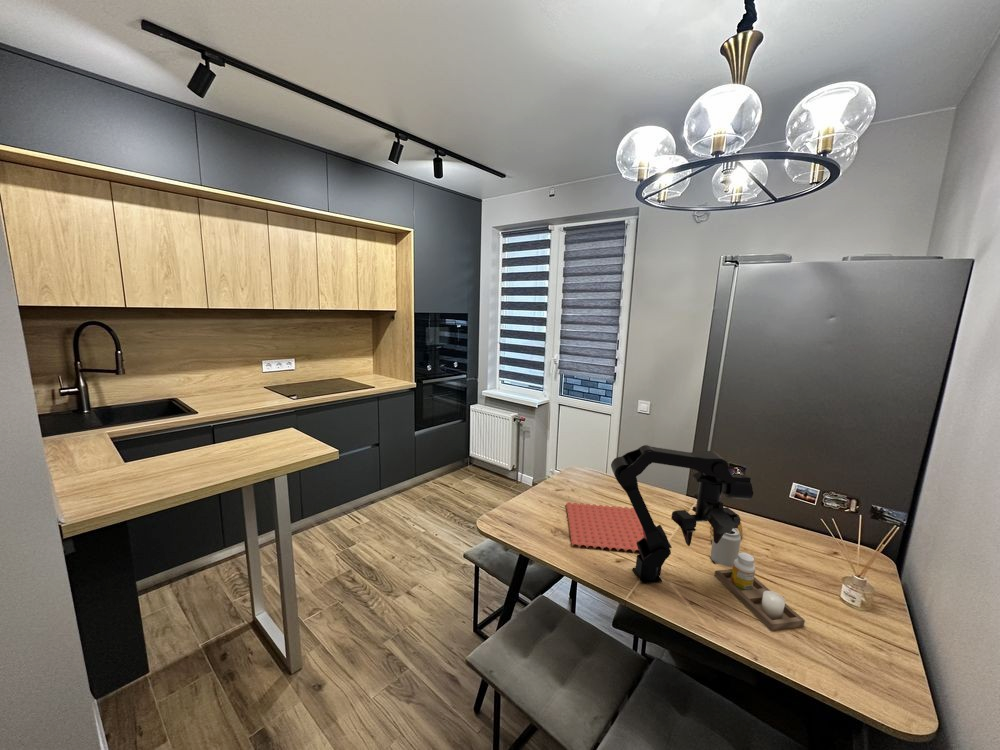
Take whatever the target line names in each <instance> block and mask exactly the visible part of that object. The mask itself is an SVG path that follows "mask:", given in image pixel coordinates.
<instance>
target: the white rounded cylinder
mask: <svg viewBox="0 0 1000 750" xmlns="http://www.w3.org/2000/svg"><path fill="white" fill-rule="evenodd" d="M785 604H786V599H785V598H784V596H782V595H781V594H779V593H777V592H775V591H773V590H770V591H764V592H763V598H762V603H761V609H760V610H761V611H762V612H764V613H765V614H766V615H767V616H768V617H769V618H770V619H772V620H777V619H782V616H783V611H784V606H785Z"/></svg>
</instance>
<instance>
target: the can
mask: <svg viewBox="0 0 1000 750" xmlns="http://www.w3.org/2000/svg"><path fill="white" fill-rule="evenodd" d="M741 541H742V535H741V536H740V534H739V531H738V530H737V529H736V528H733V529H732V531H731V533H724V535H723V536H722V538H721V539H720V541H719V542H718V543H717V544H716V543H715V542H714V538H713V542H712V541H711V542H712V543H711V550H710V555H709V556H710V558H711V560H712V561H713V562H714V563H715V564H716V565H722V566H725V567H733V564H734V560H735V559H737V558H738V553H740V547H741Z"/></svg>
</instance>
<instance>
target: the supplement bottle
mask: <svg viewBox="0 0 1000 750" xmlns="http://www.w3.org/2000/svg"><path fill="white" fill-rule="evenodd" d="M754 562H755V558H754V556H752V555H751V554H749V553H747V552H740V551H739V553H738V558H737V559H735V560H734V564H733V566H732V568H731V569H732V576H731V582H732V583H733V584H734V585H735V586H736V587H737V588H738V589H739V590H740V591H743V590H752V586H753V580H754V577H755V575H756V574H755V573H756V566H755V563H754Z"/></svg>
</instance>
